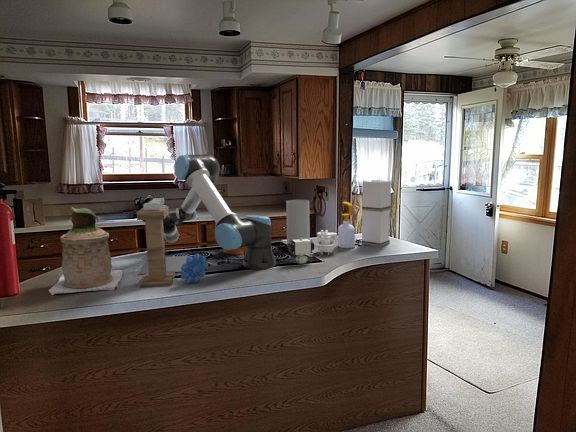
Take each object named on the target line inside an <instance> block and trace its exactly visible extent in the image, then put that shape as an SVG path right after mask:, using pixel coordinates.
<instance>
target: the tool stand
mask: <svg viewBox="0 0 576 432" xmlns="http://www.w3.org/2000/svg"><path fill="white" fill-rule="evenodd" d="M169 209H170V208H169V205H165V206H161V209H160V210H156V211H144V207H142V208H141V209H139V210H138V211H136V219H137V221H142V220H145V222H144V224H145V234H146V235H145V237H146V251H147V260H148V267H149V272H146V274H145V275H143V277H142V278H141V281H140V282H139V288H153V287H154V288H155V287H169V286H170V287H171V286H172V284H173V281H174V278H175V276H176V273H175V271H166V259H165V257H166V247H165V246H166V245H165V238H164V229H163V219H165V217H166V216H167V215H168V214H169ZM174 275H175V276H174Z"/></svg>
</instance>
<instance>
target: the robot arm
mask: <svg viewBox="0 0 576 432" xmlns="http://www.w3.org/2000/svg"><path fill="white" fill-rule="evenodd" d="M220 170H221V168H220V163H219V162H218V160H217V159H216V157H214V156H213V155H210V154H182V155H179V156H177V158H176V160H175V162H174V174H175V177H176V178H177V180H178V181H184V182H185V183H186V185H187V186H188V187H190V190H189V192H188V194H187V195H186V197H185V199H184V201H183V202H182V205H180V207H176V208H169V214H168V215H167V216H166V217H165V219H163V229H164V240H166V242H168V243H175V242H177V241H178V239H179V237H180V233H179V232H180V231H179V230H178V228H177V226H176V225H178V226H181V225H182V224H183V222H189V221H192V220H195V219H196V217H197V210H196V209H197V207H198V206H199V205H200V203H201V202H202V203H203V206H204V207H205V208H206V210H207V212H208V213H209V215H210V216H211V217H212V220H213V221H214V222H215V226H214V228H215V229H214V236H215V241H216V242H217V244H218V246H220V247H221V248H222V249H223V250H224V249H226V250H231V249H237V248H240V247H245V246H246V252H245V253H244V256H243V259H242V265H243V267H244V268H246V269H251V270H252V269H253V270H263V269H269V268H273V267H275V266H276V264H277V263H276V262H277V261H276V260H277V259H276V257H275V253H274V251H273V248H272V223H271V218H270V217H269V216H264V215H263V216H262V215H251V214H249V215H245V217H244V219H243V220H242V219H241V218H240V216H239V214H238V213H235V212H232V210H231V209H230V207H229V206H228V204H227V202H226V201H225V200H224V198H223V197H222V195H221V193H220V192H219V191H218V189H217V188H216V186H215V184H214V183H215V182H216V181H217V179H218V178H219V175H220V172H221V171H220ZM162 206H166V205H165V204H163V205H162ZM141 221H142V222H143V223H145V220H141Z"/></svg>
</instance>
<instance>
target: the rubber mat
mask: <svg viewBox="0 0 576 432" xmlns="http://www.w3.org/2000/svg"><path fill="white" fill-rule="evenodd" d="M188 257H191V256H190V255H175V256H165V259H166V271H175V272H180V273H182V270H181V267H182V265H183V264H187V263H186V259H187V258H188ZM146 272H149V267H148V259H147V260H146V261H145V263H144V264H143V265H142V267H141V268H140V270H139V272H138V273H137V276H145V274H146Z"/></svg>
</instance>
